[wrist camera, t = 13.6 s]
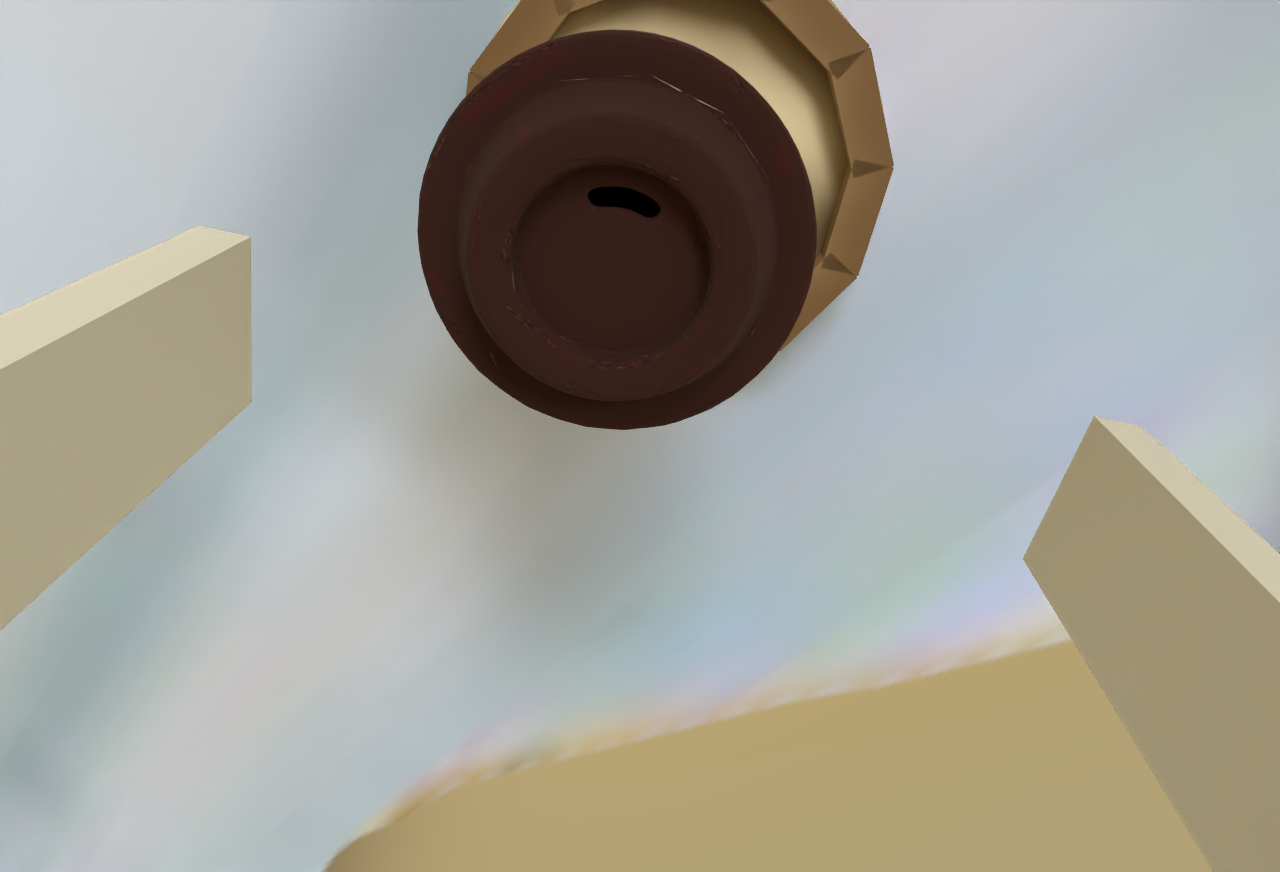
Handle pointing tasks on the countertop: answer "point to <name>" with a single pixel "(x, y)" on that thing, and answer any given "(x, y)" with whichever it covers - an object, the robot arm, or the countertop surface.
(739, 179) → the coffee cup
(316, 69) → the countertop surface
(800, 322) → the round tray
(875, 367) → the countertop surface
